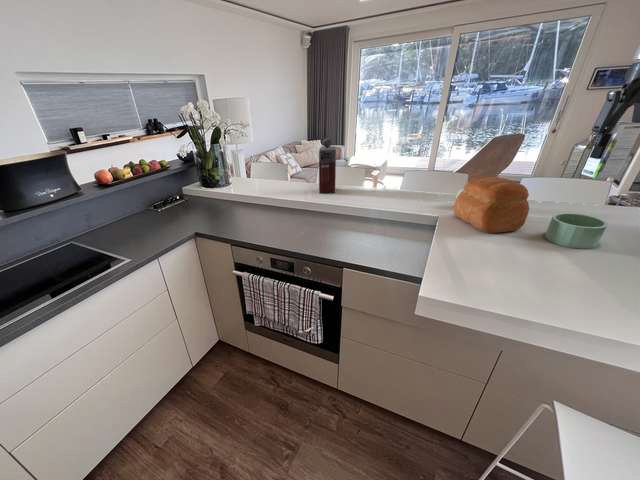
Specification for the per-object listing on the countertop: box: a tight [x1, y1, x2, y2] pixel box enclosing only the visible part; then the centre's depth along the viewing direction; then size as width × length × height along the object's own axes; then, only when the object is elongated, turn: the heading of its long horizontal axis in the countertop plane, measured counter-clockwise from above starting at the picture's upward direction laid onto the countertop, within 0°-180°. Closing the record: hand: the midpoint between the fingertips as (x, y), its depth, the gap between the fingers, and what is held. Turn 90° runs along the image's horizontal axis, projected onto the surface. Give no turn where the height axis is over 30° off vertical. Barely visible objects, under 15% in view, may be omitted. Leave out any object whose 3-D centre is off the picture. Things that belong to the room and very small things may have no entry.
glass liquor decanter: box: [318, 138, 337, 195], centre depth 156 cm, size 9×11×28 cm
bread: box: [453, 175, 530, 234], centre depth 107 cm, size 18×21×17 cm
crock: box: [544, 212, 609, 250], centre depth 93 cm, size 13×13×7 cm
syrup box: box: [581, 121, 640, 179], centre depth 82 cm, size 6×6×14 cm
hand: (607, 157), depth 83 cm, fingers closed on syrup box, 6 cm apart
